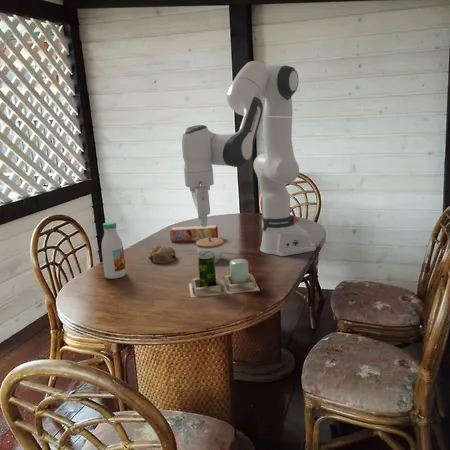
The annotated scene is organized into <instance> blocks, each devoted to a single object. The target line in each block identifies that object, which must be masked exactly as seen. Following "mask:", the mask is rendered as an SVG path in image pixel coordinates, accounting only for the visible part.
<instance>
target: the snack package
mask: <svg viewBox="0 0 450 450" xmlns="http://www.w3.org/2000/svg"><path fill="white" fill-rule="evenodd" d="M218 229H219V228H218V226H217V225H215V224H213V225H207V226H206V227H202V226H201V225H197V226H196V225H195V226H179V227H178V226H174V227H171V229H170V232H169V233H170V235H169V236H170V241H171V242H173V243H174V242H197V241H198V240H200V239H204V238H208V237H211V238H219V231H218Z"/></svg>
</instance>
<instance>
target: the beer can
mask: <svg viewBox="0 0 450 450" xmlns="http://www.w3.org/2000/svg"><path fill="white" fill-rule="evenodd" d="M197 254H198V255H197V263H198V278H199V280H200V287H209V286H216V275H217V274H216V272H217V271H216V262H215V256H214V252H212V251H202V252H199V253H197Z"/></svg>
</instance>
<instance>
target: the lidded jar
mask: <svg viewBox="0 0 450 450" xmlns="http://www.w3.org/2000/svg"><path fill="white" fill-rule="evenodd" d="M224 242H225V241H224V239H223V238H219V237H218V238H211V237H208V238H204V239H200V240H198V241H195V246H196V251H197V252H196V253H197V254H198V253H199V252H202V251H212V252H214V256H215V263H217V262H219V261H220V259H221V258H222V256H223V254H224V249H225V248H224Z"/></svg>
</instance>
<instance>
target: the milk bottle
mask: <svg viewBox="0 0 450 450" xmlns="http://www.w3.org/2000/svg"><path fill="white" fill-rule="evenodd" d="M102 228H103V236H102V237H103V238H102V240H101V257H102V265H103V272H104V277H105V278H106V279H108V280H109V279H111V280H112V279H113V280H114V279H116V280H117V279H121V278H124V277H125V276H126V274H127V268H126V259H125V251H124V245H123V241H122V239H121V237H120V235H119V233H118V232H117V222H115V221H107V222H104V223H103V224H102Z"/></svg>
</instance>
